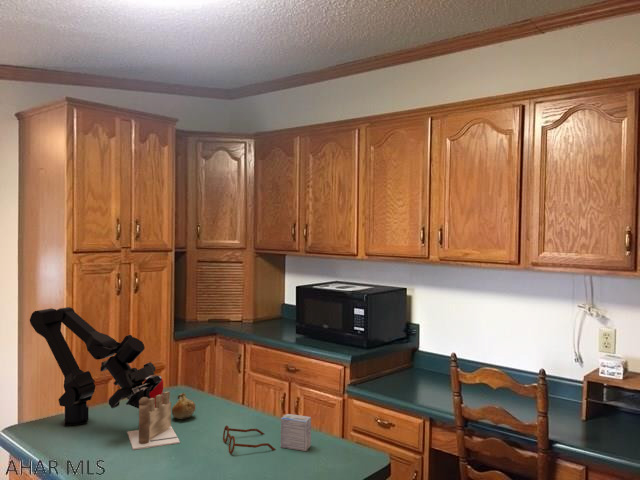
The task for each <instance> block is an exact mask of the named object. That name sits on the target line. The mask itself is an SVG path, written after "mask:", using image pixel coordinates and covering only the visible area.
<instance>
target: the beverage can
mask: <svg viewBox="0 0 640 480" xmlns="http://www.w3.org/2000/svg"><path fill="white" fill-rule="evenodd" d="M152 376H153V375H151V376H149V377H152ZM158 376H159V377H160V378H161V380H162V381H161V382H160V383H159V384H158V385H157V386H156V387H155V388H154V389H153V390H152V391H151V392H150V398H155V408H156V396H157V395H163V393H164V379H163V377H162V376H161V375H158ZM149 377H147V378H146V380H147V379H148V378H149ZM146 380H145V381H146ZM145 381H144V382H145ZM162 404H163V398H162Z"/></svg>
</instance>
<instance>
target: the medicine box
mask: <svg viewBox="0 0 640 480" xmlns="http://www.w3.org/2000/svg"><path fill="white" fill-rule="evenodd" d="M311 431H312V417H311V416H307V415H300V414H291V413H287V414H284V415H283V416H282V417H281V418H280V448H284V449H289V450H290V449H291V450H298V451H303V452H306V451H308V449H309V448H310V447H311V445H312V432H311Z"/></svg>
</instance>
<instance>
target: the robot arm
mask: <svg viewBox="0 0 640 480" xmlns="http://www.w3.org/2000/svg"><path fill="white" fill-rule="evenodd" d="M29 323H30V325H31V327H32V328H33V329H34V331H35V332H36V333H37V334H38V335H40V336H41V337H43V338H44V339H45V341H46V343H47V345H48V347H49V349H50V352H51V353H52V355H53V357H54V358H55V361H56V363H57V365H58V367H59V369H60V370H61V373H62V375H63V377H64V379H63V380H64V381H63V389H64V393H63V394H62V395H61V396H60V397H59V398H58V403H59V406H60V407H64V418H63V426H64V427H71V426H79V425H80V426H81V425H85V424H88V421H89V411H90V410H89V405H88V404H87V403H88V401H91V400H92V398H93V395H94V393H95V389H96V385H95V382H96V380H95V379H93V377H92V373H91V371H89V370H87V371H83V370H82V369H81V368H80V366H79V364H78V363H77V361H76V358H75V356H74V354H73V353H72V350H71V348H70V347H69V345H68V342H67V341H66V338H65V337H64V335H63V333H62V331H61V329H62V324H63V325H64V326H66V327H67V329H69V330H70V331H71V332H72V333H73V334H74V335H75V336H77V337H78V338H79V339H80V340H81V341H82V342H83V343H84V344H85V347H86V350H87V352H88V353H89V354H90V356H91V357H92V358H93V359H94V360H97V361H99V360H100V361H101V360H103V359H107V358H108V359H107V360H105V361H102V362H101V365H100V372H104V371H108V372H109V374H110V375H111V376H112V378H113V379H114V380H115V381H114V382H113V385H114V386H115V387H116V386H119V387H120V388H119V389H117V390H116V391H115V392H114V393H113V394H112V395H111V396H110V397H109V398H108V405H109V407H110V408H111V409H115V408H118V407H119V406H120V402H121V400H124V399H127V401H126V402H125V405H126V406H131V407H134V408H136V409H139V400H140V399H141V398H142V397H147V398H149V399H150V392H151V391H152V390H153V389H154V388H155V387H156V386H157V385H158V384H159V383H160V382H161V381H162V380H163V379H162V380H161V378H160V377H159V376H160V375H157V374H155V371H156V366H155V364H153V363H152V361H150V362H147V363H144V364H143V367H142V368H141V367H140V368H139V369H137V367H133V368H132V367H131V365H130V364H132V363H134V361H135V360H136V359H137V358H138V357H139V356H141V354H142V353H143V352H144V351H145V348H146V347H145V343H144V342H143V341H142V340H140V339H139V338H136V337H133V335H131V334H127V335H125V337H124V338H123V339H122V341H120V342H118V341H117V340H116V339H115V338H113V337H112V336H110V335H108V334H105V333H102V332H100V331H97V330H96V329H95V328H94V327H93V326H92V325H90V324H89V322H87V320H84V318H82V317H81V316H80V315H79V314H78V313H76V311H75V310H74V308H73V307H70V306H65V307H60V308H58V309H55V308H53V307H52V308H44V309H39V310H35V311H33V312H32V313H31V314H30V318H29ZM149 376H152V377H149ZM147 377H149V378H148V379H147V380H146V378H147ZM145 380H146V381H145Z"/></svg>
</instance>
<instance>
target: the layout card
mask: <svg viewBox="0 0 640 480" xmlns="http://www.w3.org/2000/svg"><path fill="white" fill-rule="evenodd" d="M126 433H127V436H128V439H129V442H130V445H131V448H132V450H133V451H135V450H141V449H147V448H148V449H149V448H154V447H162V446H169V445H176V444H180V443H181V441H180V439H179V438H178V435H177V434H176V432H175V430H174V428H173V426H172V425H171V426H170V427H168V428H167V429H165V430H163V431H161V432H160V433H158V434H156V435H154V436H152V437H151V438H149V442H148V443H146V444H140V443H139V429H136V430H130V431H129V430H128V431H126Z"/></svg>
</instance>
